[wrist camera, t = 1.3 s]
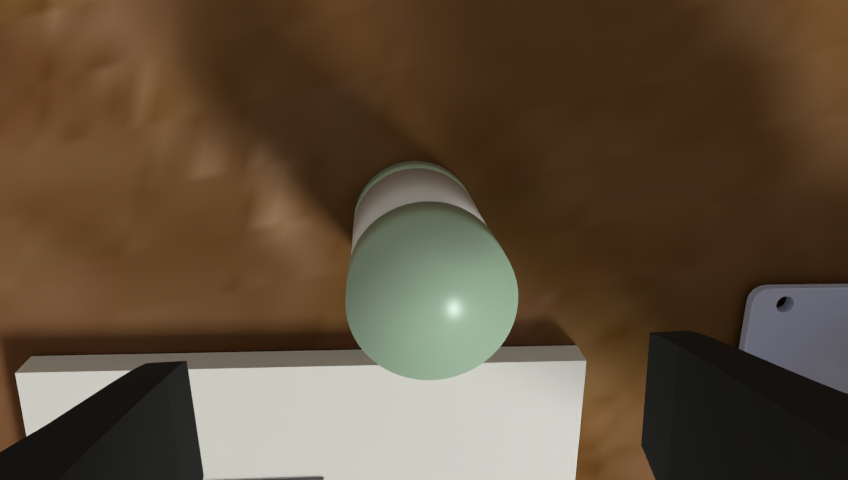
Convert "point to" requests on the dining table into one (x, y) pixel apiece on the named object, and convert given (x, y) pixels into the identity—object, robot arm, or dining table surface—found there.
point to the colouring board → (351, 413)
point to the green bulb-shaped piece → (426, 275)
